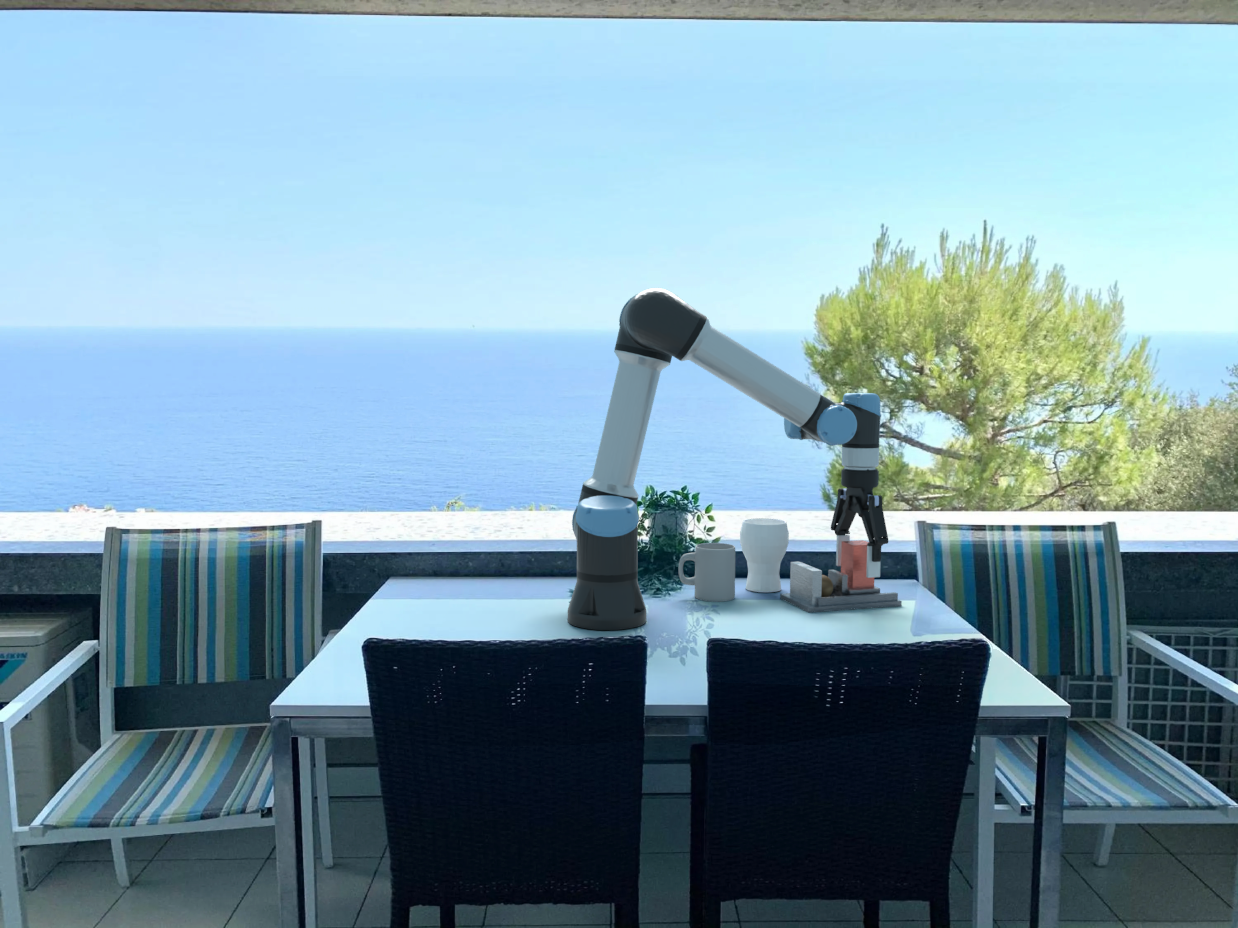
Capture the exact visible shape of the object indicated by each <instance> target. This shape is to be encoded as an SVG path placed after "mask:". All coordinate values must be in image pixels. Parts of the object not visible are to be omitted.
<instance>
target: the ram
mask: <svg viewBox="0 0 1238 928" xmlns="http://www.w3.org/2000/svg"><path fill="white" fill-rule="evenodd" d="M868 543H869V541H867V540H863V539H860V540H859V539H858V540H850V541H842V547H841V566H840V571H838V570H836V569H828V571H827V573H828V574H827V577H829V578H830V579H831V581H832V583H833V591H832V593H831V595H833V596H848V595H862V594H877V593H881V588H880V587H877V586H875V577H871V578H868V577H866V572H867V544H868Z"/></svg>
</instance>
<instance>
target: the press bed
mask: <svg viewBox="0 0 1238 928" xmlns="http://www.w3.org/2000/svg"><path fill="white" fill-rule="evenodd" d="M789 568H790V573H789V581H790V582H789V592H787V593H780V594H779V598H780V600H783V601H784V602H787V604H788V603H789V604H790V605H793V606H795V607H796V608H799V609H801V610H803V611H805V612H807V613H821V612H833V611H834V612H835V611H836V612H837V611H847V610H850V611H852V610H863V609H877V608H889V607H893V608H894V607H902V604H903V603H902V602H903V601H902V600H900V599H898V598H899V595H898V594H899V593H898V592H895V591H894V592H880V593H877V594H862V595H848V596H833V595H830V596H829V597H821V591H822V575H823V570H821V569H819V568H816V567H814V566H811V565H809V564H806V563H804V562H802V561H790V567H789Z"/></svg>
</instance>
